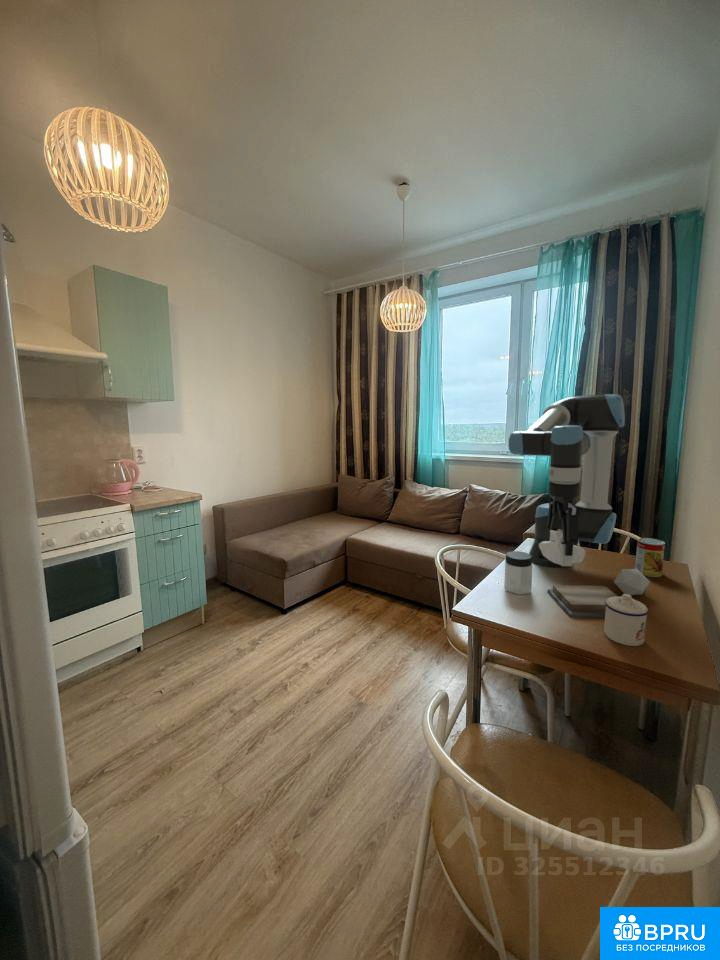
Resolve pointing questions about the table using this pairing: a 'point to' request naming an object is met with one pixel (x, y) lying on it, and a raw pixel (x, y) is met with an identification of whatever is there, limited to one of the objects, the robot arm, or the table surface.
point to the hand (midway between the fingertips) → (560, 559)
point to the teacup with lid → (625, 620)
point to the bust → (559, 549)
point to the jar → (518, 572)
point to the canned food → (650, 556)
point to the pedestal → (582, 599)
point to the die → (631, 581)
